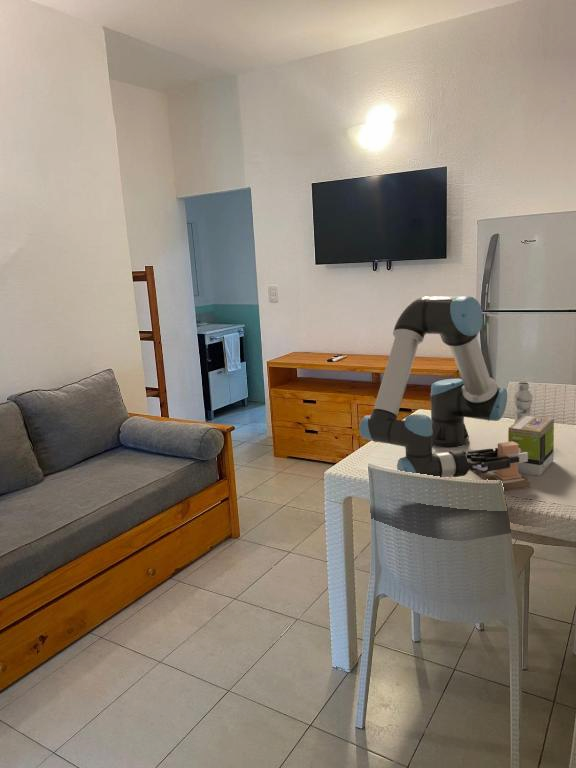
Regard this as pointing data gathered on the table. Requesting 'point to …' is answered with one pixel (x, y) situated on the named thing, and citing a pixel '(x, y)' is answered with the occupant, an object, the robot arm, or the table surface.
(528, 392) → the plastic bottle
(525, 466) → the tea box
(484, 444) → the table surface
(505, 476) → the tan upright block
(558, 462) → the table surface
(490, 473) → the board
